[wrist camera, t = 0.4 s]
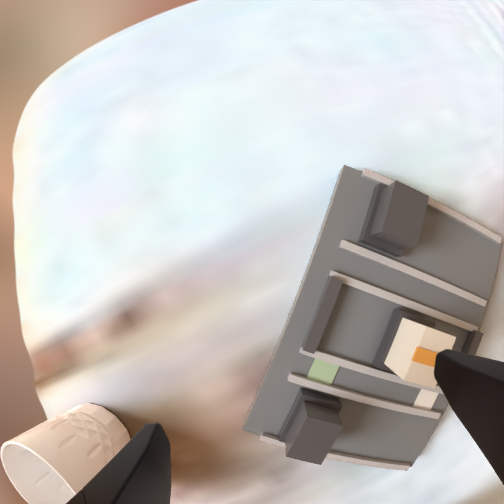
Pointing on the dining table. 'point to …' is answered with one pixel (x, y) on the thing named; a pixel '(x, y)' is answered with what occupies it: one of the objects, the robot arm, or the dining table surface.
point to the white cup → (63, 453)
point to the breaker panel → (372, 324)
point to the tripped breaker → (411, 348)
